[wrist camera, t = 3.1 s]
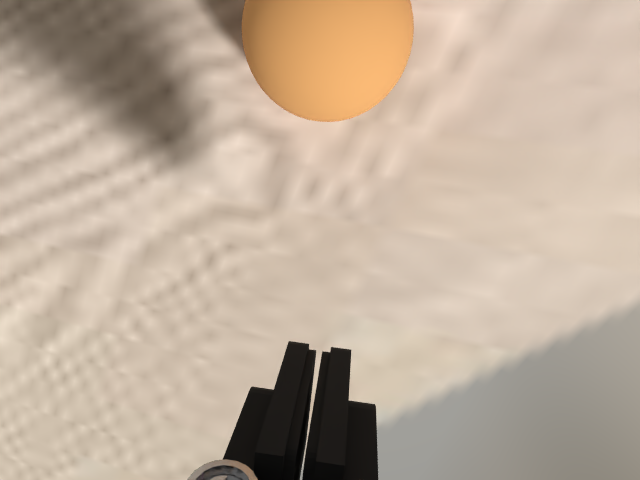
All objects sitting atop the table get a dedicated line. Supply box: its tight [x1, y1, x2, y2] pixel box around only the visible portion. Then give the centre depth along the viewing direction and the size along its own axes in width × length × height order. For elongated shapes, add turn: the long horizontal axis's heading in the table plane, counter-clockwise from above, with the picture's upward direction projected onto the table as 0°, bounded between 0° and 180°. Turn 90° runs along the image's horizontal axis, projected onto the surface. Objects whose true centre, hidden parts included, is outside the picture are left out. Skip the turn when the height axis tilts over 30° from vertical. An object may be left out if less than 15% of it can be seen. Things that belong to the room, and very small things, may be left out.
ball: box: [242, 0, 414, 122], centre depth 15 cm, size 6×6×6 cm
